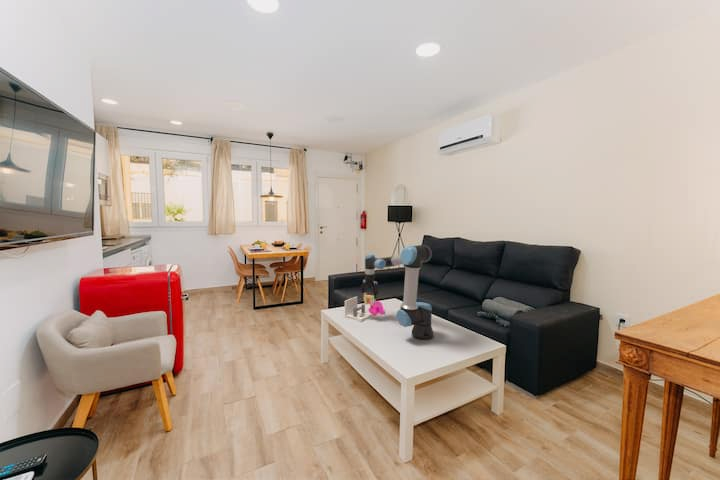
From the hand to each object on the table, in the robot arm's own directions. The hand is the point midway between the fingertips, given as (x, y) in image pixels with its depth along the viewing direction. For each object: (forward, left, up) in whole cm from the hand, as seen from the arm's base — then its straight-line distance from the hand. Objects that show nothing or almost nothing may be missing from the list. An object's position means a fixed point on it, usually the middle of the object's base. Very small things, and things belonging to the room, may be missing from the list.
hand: (369, 301), depth 231 cm
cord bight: (0, 0, -2) cm, 2 cm away
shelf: (+12, -2, -15) cm, 20 cm away
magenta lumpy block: (+6, -20, -16) cm, 26 cm away
